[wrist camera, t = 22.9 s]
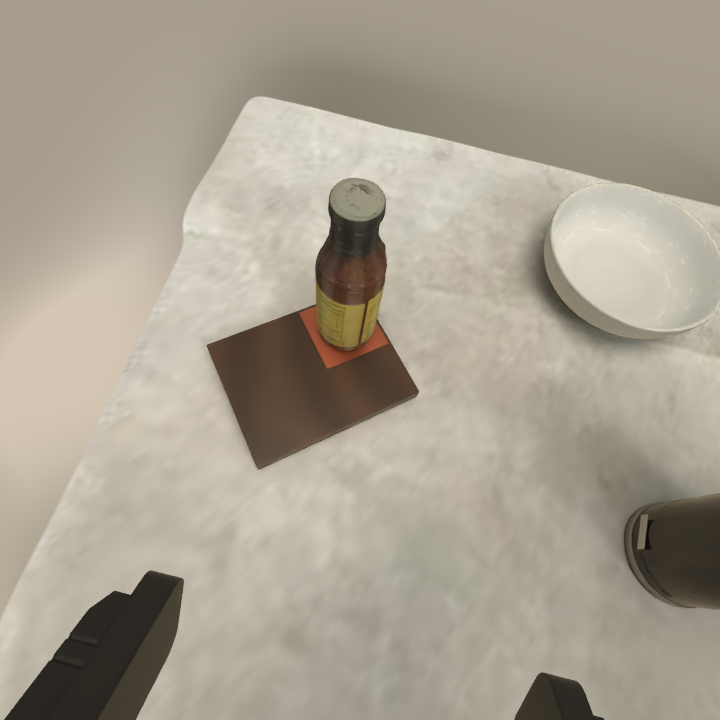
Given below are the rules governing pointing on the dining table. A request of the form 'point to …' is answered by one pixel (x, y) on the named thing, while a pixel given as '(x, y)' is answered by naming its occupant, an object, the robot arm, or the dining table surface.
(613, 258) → the serving bowl
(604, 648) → the dining table surface
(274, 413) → the walnut board
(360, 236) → the sauce bottle
